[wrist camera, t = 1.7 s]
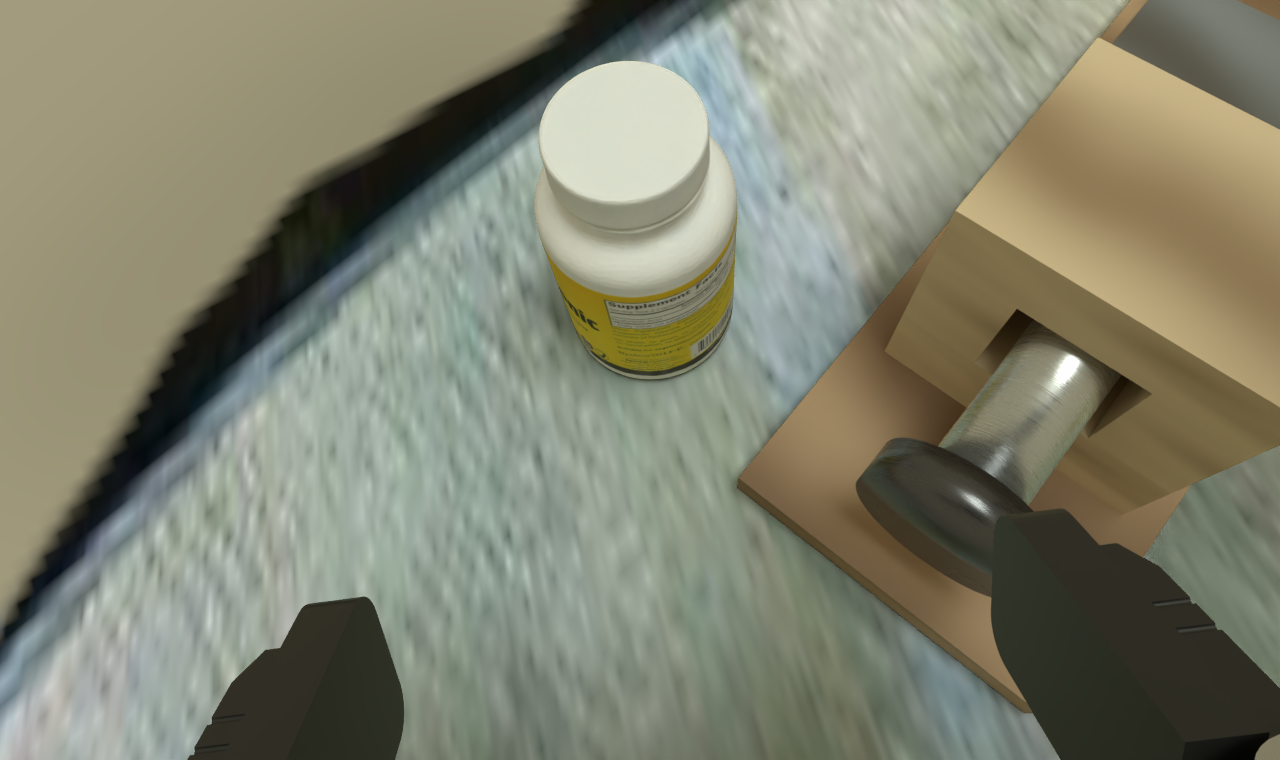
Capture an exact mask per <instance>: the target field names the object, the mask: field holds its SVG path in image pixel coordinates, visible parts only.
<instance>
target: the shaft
mask: <svg viewBox="0 0 1280 760" xmlns="http://www.w3.org/2000/svg"><path fill="white" fill-rule="evenodd" d="M1121 375H1122V374H1120V373H1118V372H1117V371H1115V370H1114V369H1112V368H1110V367H1109V366H1107V365H1106V364H1104V363H1103V362H1101V361H1099V360H1098V359H1096V358H1095V357H1093V356H1091V355H1090V354H1088V353H1087V352H1085V351H1084V350H1082V349H1080V348H1079V347H1077V346H1076V345H1074V344H1072V343H1071V342H1069V341H1068V340H1066V339H1064V338H1063V337H1061V336H1060V335H1058V334H1057V333H1055V332H1053V331H1052V330H1050V329H1049V328H1047V327H1045V326H1044V325H1042V324H1041V323H1039V322H1038V321H1036V320H1033V321H1032V323H1031V324H1030V325H1029V327H1028V328H1027V329H1026V331H1025V332H1024V333H1023V335H1022V336H1021V337H1020V338H1019V340H1018V341H1017V342H1016V344H1015V345H1014V346H1013V348H1012V349H1011V350H1010V352H1009V353H1008V354H1007V356H1006V357H1005V358H1004V360H1003V361H1002V362H1001V364H1000V365H999V366H998V367H997V369H996V370H995V371H994V373H993V374H992V375H991V377H990V378H989V379H988V381H987V382H986V383H985V385H984V386H983V387H982V389H981V390H980V391H979V393H978V394H977V395H976V396H975V398H974V399H973V400H972V402H971V403H970V404H969V406H968V407H967V408H966V410H965V411H964V412H963V414H962V415H961V416H960V418H959V419H958V420H957V422H956V423H955V424H954V425H953V427H952V428H951V429H950V431H949V432H948V433H947V435H946V436H945V437H944V439H943V440H942V441H941V443H940V444H939V445H938V446H936V445H934V444H931V443H928V442H925V441H921V440H917V439H912V438H893V439H891V440H889V441H888V442H887V443H886V444H885V445H884V446H883V448H882V449H881V450H880V452H879V453H878V454H877V455H876V457H875V458H874V459H873V461H872V462H871V463H870V464H869V466H868V467H867V468H866V470H865V471H864V472H863V473H862V475H861V476H860V477H859V479H858V480H857V482H856V491H857V494H858V496H859V499H860V500H861V502H862V503H863V505H864V506H865V508H866V509H867V511H868V512H869V513H870V514H871V515H872V517H873V518H874V519H875V520H876V521H877V522H878V523H879V524H880V525H881V526H882V527H883V528H884V529H885V530H886V531H887V532H888V533H889V534H890V535H891V536H892V537H894V538H895V539H896V540H897V541H898V542H899V543H901V544H902V545H903V546H904V547H905V548H907V549H908V550H909V551H910V552H912V553H913V554H914V555H916V556H917V557H918V558H920V559H921V560H923V561H924V562H925V563H927V564H928V565H930V566H931V567H933V568H934V569H936V570H937V571H939V572H941V573H942V574H944V575H945V576H947V577H949V578H951V579H952V580H954V581H956V582H958V583H959V584H961V585H963V586H965V587H967V588H969V589H971V590H973V591H976V592H978V593H980V594H983V595H985V596H988V597H991V594H992V570H993V546H994V529H995V524H996V521H997V519H998V518H999V517H1000V516H1004V515H1012V514H1020V513H1028V512H1034V511H1033V510H1032V509H1031V508H1030V507H1029V504H1030V503H1031V501H1032V500H1033V499H1034V497H1035V496H1036V494H1037V493H1038V492H1039V490H1040V489H1041V487H1042V486H1043V485H1044V483H1045V482H1046V480H1047V479H1048V478H1049V476H1050V475H1051V473H1052V472H1053V470H1054V469H1055V468H1056V466H1057V465H1058V463H1059V462H1060V461H1061V459H1062V458H1063V456H1064V455H1065V454H1066V452H1067V451H1068V449H1069V448H1070V447H1071V445H1072V444H1073V442H1074V441H1075V440H1076V438H1077V437H1078V435H1079V434H1080V432H1081V431H1082V430H1083V428H1084V427H1085V425H1086V424H1087V423H1088V421H1089V420H1090V418H1091V417H1092V416H1093V414H1094V413H1095V411H1096V410H1097V409H1098V407H1099V406H1100V404H1101V403H1102V402H1103V400H1104V399H1105V397H1106V396H1107V394H1108V393H1109V392H1110V390H1111V389H1112V387H1113V386H1114V385H1115V383H1116V382H1117V380H1118V379H1119V378H1120V376H1121Z"/></svg>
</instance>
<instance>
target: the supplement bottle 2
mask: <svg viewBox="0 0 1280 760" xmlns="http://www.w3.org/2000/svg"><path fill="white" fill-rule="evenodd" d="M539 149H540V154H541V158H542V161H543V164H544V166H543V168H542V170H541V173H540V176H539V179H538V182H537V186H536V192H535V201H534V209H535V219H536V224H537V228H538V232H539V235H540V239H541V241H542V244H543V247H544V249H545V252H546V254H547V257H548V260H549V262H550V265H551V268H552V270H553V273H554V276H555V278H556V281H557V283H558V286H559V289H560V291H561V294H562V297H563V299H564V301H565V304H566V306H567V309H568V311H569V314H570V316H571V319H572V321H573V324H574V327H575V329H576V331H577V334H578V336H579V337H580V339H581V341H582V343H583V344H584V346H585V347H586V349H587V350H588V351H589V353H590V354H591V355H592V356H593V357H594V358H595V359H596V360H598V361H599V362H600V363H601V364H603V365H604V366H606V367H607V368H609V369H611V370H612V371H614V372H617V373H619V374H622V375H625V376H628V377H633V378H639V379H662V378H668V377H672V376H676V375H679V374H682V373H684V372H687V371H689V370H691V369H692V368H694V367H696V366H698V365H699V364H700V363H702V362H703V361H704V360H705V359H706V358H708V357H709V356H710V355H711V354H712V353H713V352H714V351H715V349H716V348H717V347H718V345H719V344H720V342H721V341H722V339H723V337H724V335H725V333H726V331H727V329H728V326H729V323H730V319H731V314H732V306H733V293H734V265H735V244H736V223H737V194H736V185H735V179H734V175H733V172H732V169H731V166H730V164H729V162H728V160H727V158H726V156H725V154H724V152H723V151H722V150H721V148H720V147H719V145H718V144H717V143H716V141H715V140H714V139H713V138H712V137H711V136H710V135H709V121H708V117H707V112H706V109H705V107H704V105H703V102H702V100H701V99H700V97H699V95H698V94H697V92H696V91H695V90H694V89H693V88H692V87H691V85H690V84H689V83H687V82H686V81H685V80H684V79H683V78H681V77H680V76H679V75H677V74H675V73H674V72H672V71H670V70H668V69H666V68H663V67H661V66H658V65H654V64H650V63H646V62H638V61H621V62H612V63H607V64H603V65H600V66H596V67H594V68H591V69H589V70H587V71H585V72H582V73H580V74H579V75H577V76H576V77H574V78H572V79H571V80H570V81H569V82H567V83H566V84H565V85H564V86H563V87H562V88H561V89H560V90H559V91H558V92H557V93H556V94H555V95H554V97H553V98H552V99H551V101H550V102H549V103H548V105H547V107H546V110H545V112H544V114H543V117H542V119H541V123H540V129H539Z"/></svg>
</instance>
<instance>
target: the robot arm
mask: <svg viewBox="0 0 1280 760" xmlns="http://www.w3.org/2000/svg"><path fill="white" fill-rule="evenodd" d="M991 624H992V630H993V635H994V639H995V643H996V646H997V649H998V652H999V655H1000V657H1001V659H1002V661H1003V663H1004V665H1005V667H1006V669H1007V670H1008V672H1009V674H1010V676H1011V677H1012V679H1013V681H1014V682H1015V684H1016V686H1017V687H1018V689H1019V691H1020V692H1021V694H1022V696H1023V697H1024V699H1025V701H1026V702H1027V704H1028V706H1029V707H1030V709H1031V711H1032V712H1033V714H1034V716H1035V717H1036V719H1037V721H1038V722H1039V724H1040V726H1041V727H1042V729H1043V731H1044V732H1045V734H1046V736H1047V737H1048V739H1049V741H1050V742H1051V744H1052V746H1053V747H1054V749H1055V751H1056V753H1057V754H1058V756H1059V758H1060V759H1061V760H1280V688H1279V687H1278V686H1277V685H1276V684H1275V683H1274V682H1273V681H1272V680H1271V679H1270V678H1269V677H1268V676H1267V675H1266V674H1265V673H1264V672H1263V671H1262V670H1261V669H1260V668H1259V667H1258V666H1257V665H1256V664H1255V663H1254V662H1253V661H1252V660H1251V659H1250V658H1249V657H1248V656H1247V655H1246V654H1245V653H1244V652H1243V651H1242V650H1241V649H1240V648H1239V647H1238V646H1237V645H1236V644H1235V643H1234V642H1233V641H1232V640H1231V639H1230V638H1229V637H1228V635H1227V634H1226V633H1225V632H1224V631H1223V630H1217V628H1216V626H1215V622H1214V621H1213V620H1212V619H1211V618H1210V617H1209V616H1208V615H1207V614H1206V613H1205V612H1204V611H1203V610H1202V609H1201V608H1200V607H1199V606H1198V605H1197V604H1192V603H1191V601H1190V597H1189V596H1188V595H1187V594H1186V593H1185V592H1184V591H1183V590H1182V589H1181V588H1180V587H1179V586H1178V585H1177V584H1176V583H1175V582H1174V581H1173V580H1172V579H1171V578H1170V577H1169V576H1168V575H1167V574H1166V573H1165V572H1164V571H1163V570H1162V569H1161V568H1160V567H1159V566H1158V565H1156V564H1154V563H1152V562H1150V561H1148V560H1147V559H1145V558H1143V557H1141V556H1139V555H1138V554H1136V553H1134V552H1132V551H1130V550H1129V549H1127V548H1125V547H1123V546H1121V545H1120V544H1118V543H1113V544H1105V545H1099V544H1098V543H1097V542H1096V541H1095V540H1094V539H1093V537H1092V536H1091V535H1090V534H1089V533H1088V532H1087V531H1086V530H1085V529H1084V528H1083V527H1082V525H1081V524H1080V523H1079V522H1078V521H1077V520H1076V519H1075V518H1074V517H1073V516H1072V515H1071V514H1070V513H1069V512H1068V511H1067V510H1065V509H1062V508H1059V509H1051V510H1043V511H1035V512H1028V513H1020V514H1012V515H1004V516H1000V517H999V518H998V519H997V521H996V524H995V529H994V546H993V570H992V594H991ZM403 723H404V702H403V694H402V689H401V685H400V682H399V679H398V676H397V673H396V670H395V667H394V664H393V661H392V658H391V655H390V652H389V649H388V646H387V643H386V640H385V637H384V634H383V630H382V627H381V624H380V621H379V618H378V615H377V612H376V610H375V607H374V605H373V603H372V602H371V601H370V599H368V598H367V597H358V598H350V599H342V600H335V601H327V602H319V603H312V604H307V605H305V606H304V607H303V608H302V609H301V611H300V612H299V614H298V616H297V618H296V619H295V621H294V623H293V625H292V627H291V629H290V631H289V633H288V635H287V636H286V638H285V640H284V642H283V644H282V646H281V648H278V649H270V650H265V651H264V652H263V653H262V654H261V655H260V656H259V657H258V658H257V659H256V660H255V661H254V662H253V663H252V664H251V665H249V666H248V667H247V668H246V669H245V670H244V671H243V672H242V673H241V674H240V675H239V676H238V677H237V678H236V679H235V680H234V681H233V682H232V683H231V685H230V687H229V688H228V690H227V692H226V694H225V695H224V697H223V699H222V701H221V702H220V704H219V706H218V708H217V709H216V711H215V713H214V714H213V716H212V724H211V725H207V727H206V728H205V730H204V732H203V734H202V735H201V737H200V739H199V741H198V742H197V744H196V746H195V747H194V748H195V753H194V755H190V756H189V758H188V760H395V757H396V754H397V750H398V747H399V744H400V740H401V736H402V731H403Z"/></svg>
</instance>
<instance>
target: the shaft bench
mask: <svg viewBox="0 0 1280 760" xmlns="http://www.w3.org/2000/svg"><path fill="white" fill-rule="evenodd" d="M1033 320H1036V321H1038V322H1039V323H1041V324H1042V325H1044V326H1045V327H1047V328H1049V329H1050V330H1052V331H1053V332H1055V333H1057V334H1058V335H1060V336H1061V337H1063V338H1064V339H1066V340H1068V341H1069V342H1071V343H1072V344H1074V345H1076V346H1077V347H1079V348H1080V349H1082V350H1084V351H1085V352H1087V353H1088V354H1090V355H1091V356H1093V357H1095V358H1096V359H1098V360H1099V361H1101V362H1103V363H1104V364H1106V365H1107V366H1109V367H1110V368H1112V369H1114V370H1115V371H1117V372H1118V373H1120V374H1122V375H1121V376H1120V378H1119V379H1118V380H1117V382H1116V383H1115V385H1114V386H1113V387H1112V389H1111V390H1110V392H1109V393H1108V394H1107V396H1106V397H1105V399H1104V400H1103V402H1102V403H1101V404H1100V406H1099V407H1098V409H1097V410H1096V411H1095V413H1094V414H1093V416H1092V417H1091V418H1090V420H1089V421H1088V423H1087V424H1086V425H1085V427H1084V428H1083V430H1082V431H1081V432H1080V434H1079V435H1078V437H1077V438H1076V440H1075V441H1074V442H1073V444H1072V445H1071V447H1070V448H1069V449H1068V451H1067V452H1066V454H1065V455H1064V456H1063V458H1062V459H1061V461H1060V462H1059V463H1058V465H1057V466H1056V468H1055V469H1054V470H1053V472H1052V473H1051V475H1050V476H1049V478H1048V479H1047V480H1046V482H1045V483H1044V485H1043V486H1042V487H1041V489H1040V490H1039V492H1038V493H1037V494H1036V496H1035V497H1034V499H1033V500H1032V501H1031V503H1030V504H1029V507H1030V508H1031V509H1032V510H1033V511H1034V512H1035V511H1043V510H1051V509H1059V508H1062V509H1065V510H1067V511H1068V512H1069V513H1070V514H1071V515H1072V516H1073V517H1074V518H1075V519H1076V520H1077V521H1078V522H1079V523H1080V524H1081V525H1082V527H1083V528H1084V529H1085V530H1086V531H1087V532H1088V533H1089V534H1090V535H1091V536H1092V537H1093V539H1094V540H1095V541H1096V542H1097V543H1098V544H1099V545H1105V544H1113V543H1118V544H1120V545H1121V546H1123V547H1125V548H1127V549H1129V550H1130V551H1132V552H1134V553H1136V554H1138V555H1139V556H1141V557H1144V556H1145V554H1146V553H1147V551H1148V550H1149V548H1150V547H1151V545H1152V543H1153V542H1154V540H1155V539H1156V537H1157V536H1158V534H1159V533H1160V531H1161V530H1162V528H1163V527H1164V525H1165V524H1166V522H1167V521H1168V519H1169V518H1170V516H1171V515H1172V513H1173V512H1174V510H1175V509H1176V507H1177V505H1178V504H1179V502H1180V501H1181V499H1182V498H1183V496H1184V495H1185V493H1186V492H1187V490H1188V489H1189V487H1190V486H1191V484H1193V483H1196V482H1198V481H1200V480H1202V479H1205V478H1207V477H1209V476H1211V475H1214V474H1216V473H1218V472H1220V471H1223V470H1225V469H1227V468H1229V467H1232V466H1234V465H1236V464H1238V463H1241V462H1243V461H1245V460H1247V459H1250V458H1252V457H1254V456H1256V455H1259V454H1261V453H1263V452H1265V451H1268V450H1270V449H1272V448H1274V447H1277V446H1279V445H1280V0H1131V1H1130V2H1129V3H1128V4H1127V6H1126V7H1125V8H1124V9H1123V10H1122V12H1121V13H1120V14H1119V15H1118V16H1117V18H1116V19H1115V20H1114V21H1113V23H1112V24H1111V25H1110V26H1109V27H1108V29H1107V30H1106V31H1105V32H1104V34H1103V35H1102V36H1101V37H1100V38H1099V37H1098V38H1097V39H1096V40H1095V41H1094V43H1093V44H1092V45H1091V46H1090V47H1089V49H1088V50H1087V51H1086V52H1085V53H1084V55H1083V56H1082V57H1081V58H1080V60H1079V61H1078V62H1077V63H1076V64H1075V66H1074V67H1073V68H1072V69H1071V70H1070V72H1069V73H1068V74H1067V75H1066V77H1065V78H1064V79H1063V80H1062V81H1061V83H1060V84H1059V85H1058V86H1057V88H1056V89H1055V90H1054V91H1053V92H1052V94H1051V95H1050V96H1049V97H1048V98H1047V100H1046V101H1045V102H1044V103H1043V105H1042V106H1041V107H1040V108H1039V109H1038V111H1037V112H1036V113H1035V114H1034V115H1033V117H1032V118H1031V119H1030V120H1029V122H1028V123H1027V124H1026V125H1025V126H1024V128H1023V129H1022V130H1021V131H1020V133H1019V134H1018V135H1017V136H1016V137H1015V139H1014V140H1013V141H1012V142H1011V143H1010V145H1009V146H1008V147H1007V148H1006V150H1005V151H1004V152H1003V153H1002V154H1001V156H1000V157H999V158H998V159H997V160H996V162H995V163H994V164H993V165H992V167H991V168H990V169H989V170H988V171H987V173H986V174H985V175H984V176H983V177H982V179H981V180H980V181H979V182H978V184H977V185H976V186H975V187H974V188H973V190H972V191H971V192H970V193H969V195H968V196H967V197H966V198H965V199H964V201H963V202H962V203H961V204H960V205H959V207H958V208H957V209H956V210H955V212H954V214H953V216H952V218H951V220H950V221H949V222H948V223H947V225H946V226H945V227H944V228H943V230H942V231H941V232H940V233H939V234H938V236H937V237H936V238H935V239H934V240H933V242H932V243H931V244H930V245H929V247H928V248H927V249H926V250H925V251H924V253H923V254H922V255H921V256H920V258H919V259H918V260H917V261H916V262H915V264H914V265H913V266H912V267H911V268H910V270H909V271H908V272H907V273H906V275H905V276H904V277H903V278H902V279H901V281H900V282H899V283H898V284H897V286H896V287H895V288H894V289H893V290H892V292H891V293H890V294H889V295H888V296H887V298H886V299H885V300H884V301H883V303H882V304H881V305H880V306H879V307H878V309H877V310H876V311H875V312H874V314H873V315H872V316H871V317H870V318H869V320H868V321H867V322H866V323H865V324H864V326H863V327H862V328H861V329H860V331H859V332H858V333H857V334H856V335H855V337H854V338H853V339H852V340H851V342H850V343H849V344H848V345H847V346H846V348H845V349H844V350H843V351H842V352H841V354H840V355H839V356H838V357H837V359H836V360H835V361H834V362H833V363H832V365H831V366H830V367H829V368H828V370H827V371H826V372H825V373H824V374H823V376H822V377H821V378H820V379H819V380H818V382H817V383H816V384H815V385H814V387H813V388H812V389H811V390H810V391H809V393H808V394H807V395H806V396H805V398H804V399H803V400H802V401H801V402H800V404H799V405H798V406H797V407H796V408H795V410H794V411H793V412H792V413H791V415H790V416H789V417H788V418H787V419H786V421H785V422H784V423H783V424H782V426H781V427H780V428H779V429H778V430H777V432H776V433H775V434H774V435H773V436H772V438H771V439H770V440H769V441H768V443H767V444H766V445H765V446H764V447H763V449H762V450H761V451H760V452H759V454H758V455H757V456H756V457H755V458H754V460H753V461H752V462H751V463H750V464H749V466H748V467H747V468H746V469H745V471H744V472H743V473H742V474H741V475H740V477H739V478H738V485H737V488H739V489H740V490H741V491H742V492H744V493H745V494H746V495H748V496H749V497H750V498H751V499H753V500H754V501H755V502H756V503H758V504H759V505H760V506H762V507H763V508H764V509H765V510H767V511H768V512H769V513H770V514H772V515H773V516H774V517H776V518H777V519H778V520H779V521H781V522H782V523H783V524H784V525H786V526H787V527H788V528H790V529H791V530H792V531H793V532H795V533H796V534H797V535H798V536H800V537H801V538H802V539H804V540H805V541H806V542H807V543H809V544H810V545H811V546H812V547H814V548H815V549H816V550H818V551H819V552H820V553H821V554H823V555H824V556H825V557H827V558H828V559H829V560H830V561H832V562H833V563H834V564H835V565H837V566H838V567H839V568H841V569H842V570H843V571H844V572H846V573H847V574H848V575H849V576H851V577H852V578H853V579H855V580H856V581H857V582H858V583H860V584H861V585H862V586H863V587H865V588H866V589H867V590H869V591H870V592H871V593H872V594H874V595H875V596H876V597H877V598H879V599H880V600H881V601H883V602H884V603H885V604H886V605H888V606H889V607H890V608H891V609H893V610H894V611H895V612H897V613H898V614H899V615H900V616H902V617H903V618H904V619H905V620H907V621H908V622H909V623H911V624H912V625H913V626H914V627H916V628H917V629H918V630H920V631H921V632H922V633H923V634H925V635H926V636H927V637H928V638H930V639H931V640H932V641H934V642H935V643H936V644H937V645H939V646H940V647H941V648H942V649H944V650H945V651H946V652H948V653H949V654H950V655H951V656H953V657H954V658H955V659H956V660H958V661H959V662H960V663H962V664H963V665H964V666H965V667H967V668H968V669H969V670H970V671H972V672H973V673H974V674H976V675H977V676H978V677H979V678H981V679H982V680H983V681H984V682H986V683H987V684H988V685H990V686H991V687H992V688H993V689H995V690H996V691H997V692H998V693H1000V694H1001V695H1002V696H1004V697H1005V698H1006V699H1007V700H1009V701H1010V702H1011V703H1012V704H1014V705H1015V706H1016V707H1018V708H1019V709H1020V710H1021V711H1023V712H1024V713H1033V712H1032V711H1031V709H1030V707H1029V706H1028V704H1027V702H1026V701H1025V699H1024V697H1023V696H1022V694H1021V692H1020V691H1019V689H1018V687H1017V686H1016V684H1015V682H1014V681H1013V679H1012V677H1011V676H1010V674H1009V672H1008V670H1007V669H1006V667H1005V665H1004V663H1003V661H1002V659H1001V657H1000V655H999V652H998V649H997V646H996V643H995V639H994V635H993V630H992V624H991V597H988V596H985V595H983V594H980V593H978V592H976V591H973V590H971V589H969V588H967V587H965V586H963V585H961V584H959V583H958V582H956V581H954V580H952V579H951V578H949V577H947V576H945V575H944V574H942V573H941V572H939V571H937V570H936V569H934V568H933V567H931V566H930V565H928V564H927V563H925V562H924V561H923V560H921V559H920V558H918V557H917V556H916V555H914V554H913V553H912V552H910V551H909V550H908V549H907V548H905V547H904V546H903V545H902V544H901V543H899V542H898V541H897V540H896V539H895V538H894V537H892V536H891V535H890V534H889V533H888V532H887V531H886V530H885V529H884V528H883V527H882V526H881V525H880V524H879V523H878V522H877V521H876V520H875V519H874V518H873V517H872V515H871V514H870V513H869V512H868V511H867V509H866V508H865V506H864V505H863V503H862V502H861V500H860V499H859V496H858V494H857V491H856V482H857V480H858V479H859V477H860V476H861V475H862V473H863V472H864V471H865V470H866V468H867V467H868V466H869V464H870V463H871V462H872V461H873V459H874V458H875V457H876V455H877V454H878V453H879V452H880V450H881V449H882V448H883V446H884V445H885V444H886V443H887V442H888V441H889V440H891V439H893V438H912V439H917V440H921V441H925V442H928V443H931V444H934V445H936V446H938V445H939V444H940V443H941V441H942V440H943V439H944V437H945V436H946V435H947V433H948V432H949V431H950V429H951V428H952V427H953V425H954V424H955V423H956V422H957V420H958V419H959V418H960V416H961V415H962V414H963V412H964V411H965V410H966V408H967V407H968V406H969V404H970V403H971V402H972V400H973V399H974V398H975V396H976V395H977V394H978V393H979V391H980V390H981V389H982V387H983V386H984V385H985V383H986V382H987V381H988V379H989V378H990V377H991V375H992V374H993V373H994V371H995V370H996V369H997V367H998V366H999V365H1000V364H1001V362H1002V361H1003V360H1004V358H1005V357H1006V356H1007V354H1008V353H1009V352H1010V350H1011V349H1012V348H1013V346H1014V345H1015V344H1016V342H1017V341H1018V340H1019V338H1020V337H1021V336H1022V335H1023V333H1024V332H1025V331H1026V329H1027V328H1028V327H1029V325H1030V324H1031V323H1032V321H1033Z"/></svg>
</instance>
